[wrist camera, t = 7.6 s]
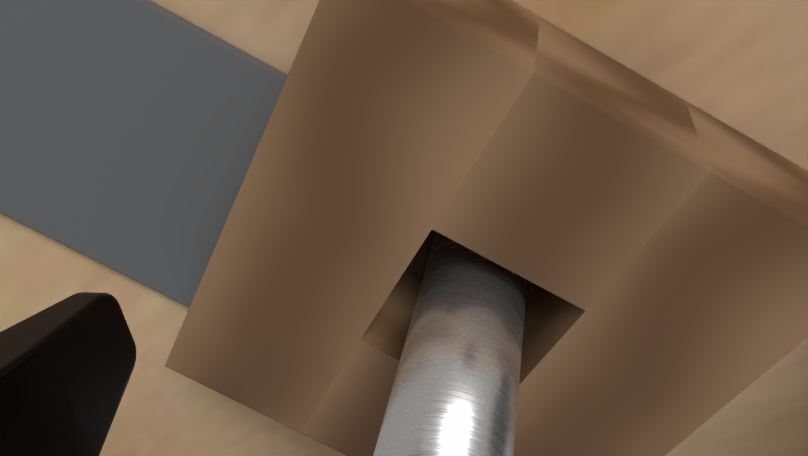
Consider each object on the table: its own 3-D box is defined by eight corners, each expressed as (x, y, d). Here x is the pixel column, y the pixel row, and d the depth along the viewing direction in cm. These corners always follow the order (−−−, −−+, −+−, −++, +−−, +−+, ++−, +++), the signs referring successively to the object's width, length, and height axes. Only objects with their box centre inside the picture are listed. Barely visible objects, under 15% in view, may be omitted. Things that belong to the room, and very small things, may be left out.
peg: (548, 232, 22) (536, 512, 14) (498, 296, 24) (461, 580, 16) (463, 186, 22) (400, 444, 14) (418, 254, 24) (338, 521, 15)
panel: (337, 102, 21) (333, 107, 21) (232, 319, 27) (228, 326, 26) (18, -72, 20) (9, -68, 20) (-21, 192, 26) (-30, 198, 25)
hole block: (833, 185, 20) (885, 271, 16) (549, 458, 28) (547, 553, 24) (378, -76, 18) (336, -39, 15) (215, 289, 26) (165, 366, 23)
